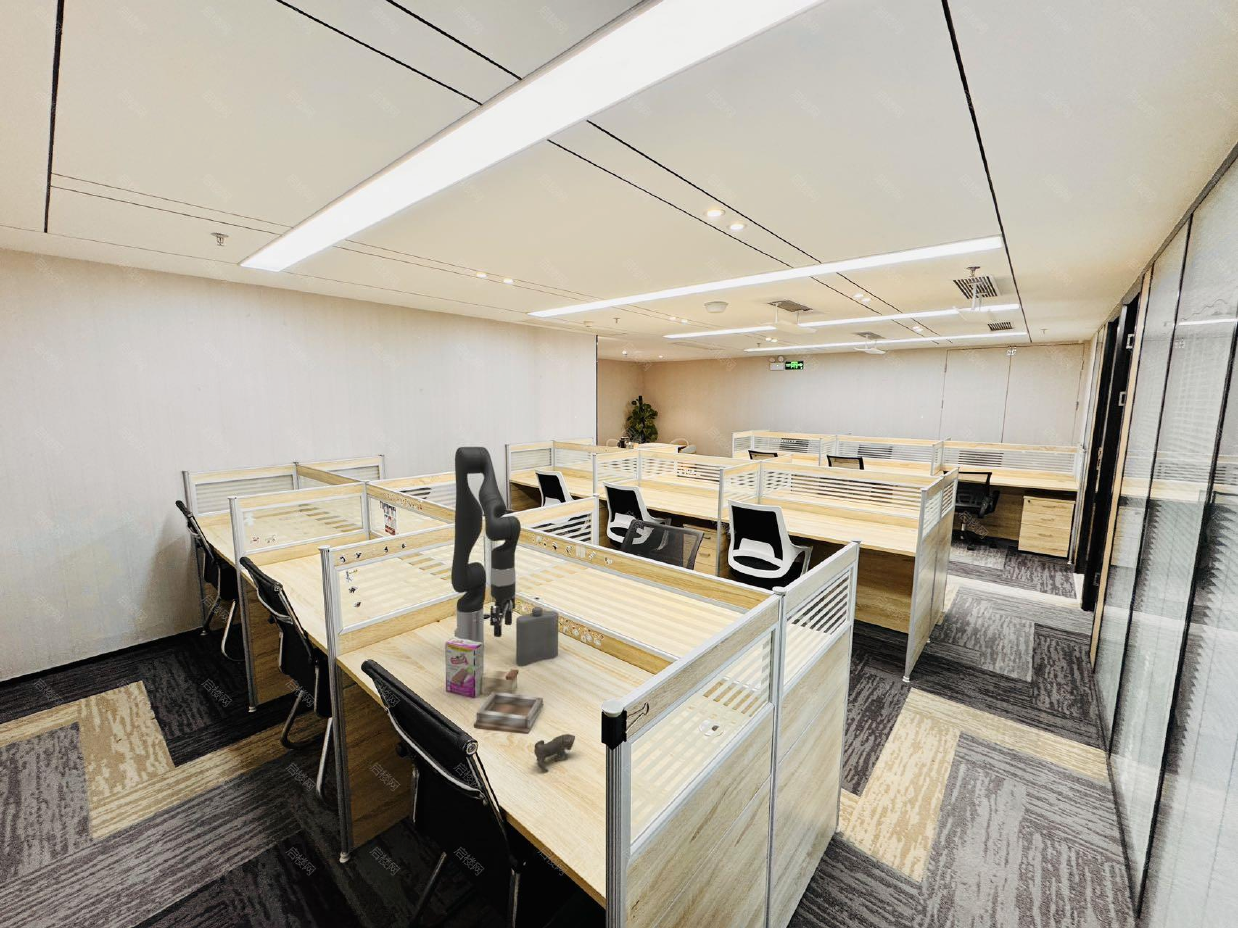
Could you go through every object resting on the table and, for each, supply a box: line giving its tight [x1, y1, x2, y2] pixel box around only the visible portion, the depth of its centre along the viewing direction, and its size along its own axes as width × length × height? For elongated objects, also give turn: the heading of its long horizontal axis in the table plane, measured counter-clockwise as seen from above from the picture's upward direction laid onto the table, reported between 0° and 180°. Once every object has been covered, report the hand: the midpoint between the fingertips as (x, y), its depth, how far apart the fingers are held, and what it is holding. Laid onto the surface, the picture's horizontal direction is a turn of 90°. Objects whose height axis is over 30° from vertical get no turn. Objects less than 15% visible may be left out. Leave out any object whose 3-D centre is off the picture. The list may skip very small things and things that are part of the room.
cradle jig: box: [473, 692, 544, 735], centre depth 148 cm, size 16×14×4 cm
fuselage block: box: [481, 668, 519, 695], centre depth 160 cm, size 10×4×7 cm, turn 80°
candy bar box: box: [444, 636, 485, 699], centre depth 159 cm, size 11×5×16 cm, turn 71°
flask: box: [515, 606, 559, 667], centre depth 178 cm, size 15×6×20 cm, turn 117°
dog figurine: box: [533, 733, 576, 774], centre depth 130 cm, size 12×6×7 cm, turn 125°
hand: (503, 630), depth 158 cm, fingers open, 8 cm apart
